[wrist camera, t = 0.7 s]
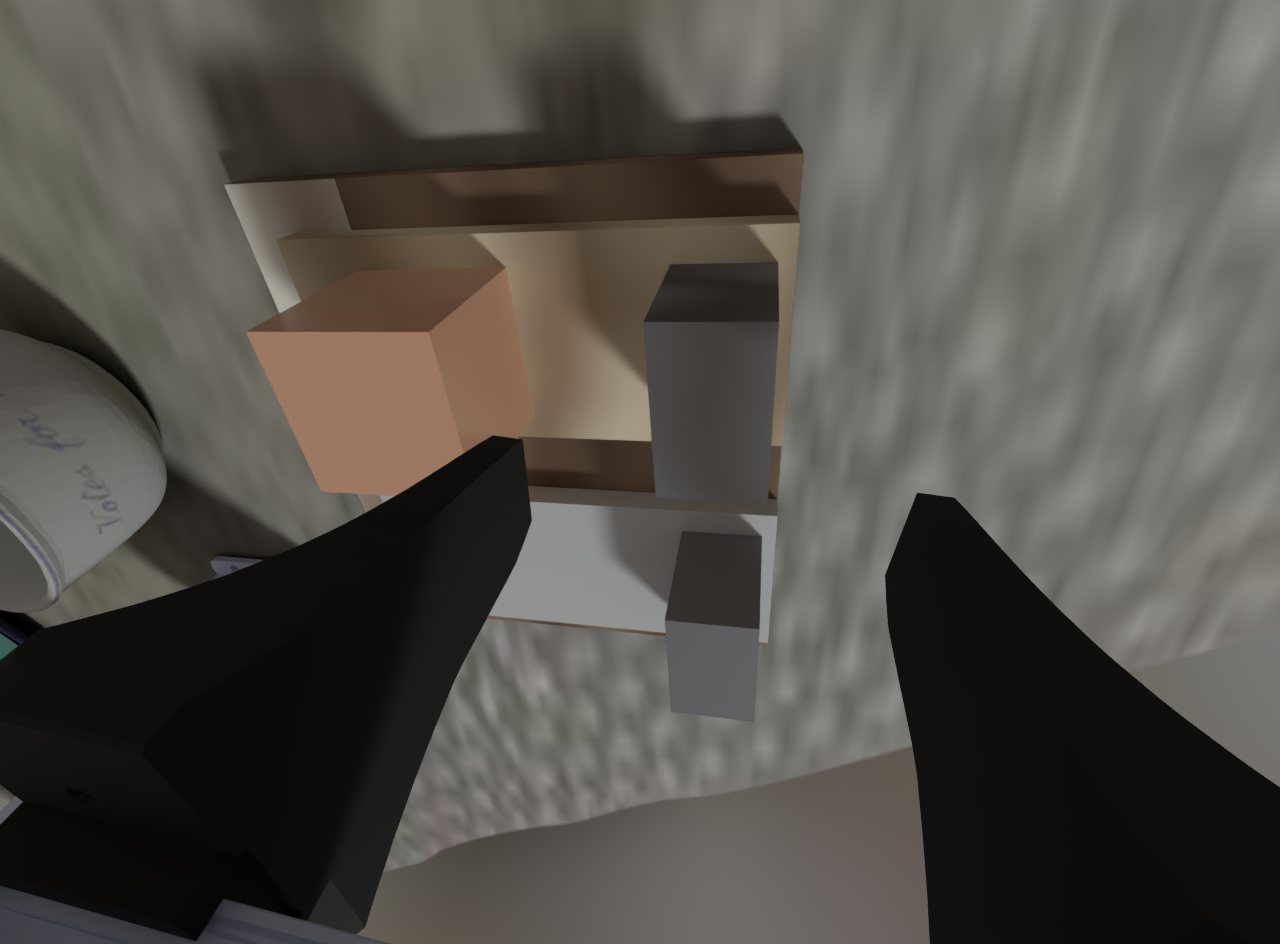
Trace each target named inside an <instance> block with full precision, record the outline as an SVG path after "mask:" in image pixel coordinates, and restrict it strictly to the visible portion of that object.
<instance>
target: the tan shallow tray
mask: <svg viewBox="0 0 1280 944" xmlns="http://www.w3.org/2000/svg"><path fill="white" fill-rule="evenodd" d="M799 231H800V219H799V214H797V215H768V216H740V217H711V218H682V219H654V220H625V221H597V222H568V223H540V224H511V225H483V226H454V227H426V228H397V229H369V230H340V231H312V232H295V233H293V234H290V235H288V236H285V237H283V238H280V239H278V240H276V241H277V243H278V246H279V248H280V251H281V253H282V255H283V258H284V260H285V263H286V265H287V268H288V270H289V273H290V275H291V278H292V280H293V283H294V285H295V288H296V290H297V292H298V295H299V297H300V300H301V301H303V300H305V299H307V298H309V297H311V296H312V295H314V294H316V293H318V292H320V291H322V290H323V289H325V288H327V287H329V286H331V285H333V284H334V283H336V282H338V281H340V280H342V279H344V278H345V277H347V276H349V275H351V274H353V273H355V272H356V271H367V270H416V269H465V268H506V271H507V276H508V281H509V286H510V291H511V296H512V301H513V306H514V311H515V316H516V321H517V326H518V331H519V336H520V341H521V346H522V351H523V356H524V361H525V366H526V372H527V377H528V382H529V387H530V392H531V397H532V402H533V407H534V412H535V413H534V415H533V416H532V418H531V419H530V421H529V422H528V424H527V426H526V427H525V429H524V430H523V432H522V433H521V435H520V437H547V438H574V439H601V440H628V441H652V452H653V466H654V480H655V494H656V498H675V499H693V500H711V501H729V502H747V503H766V504H768V490H769V474H770V458H771V446H783V438H784V425H785V412H786V399H787V387H788V374H789V361H790V348H791V335H792V322H793V309H794V296H795V283H796V270H797V257H798V244H799Z"/></svg>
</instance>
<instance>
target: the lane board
mask: <svg viewBox="0 0 1280 944" xmlns="http://www.w3.org/2000/svg"><path fill="white" fill-rule="evenodd" d="M802 165H803V150H802V148H795V149H777V150H759V151H741V152H723V153H705V154H687V155H669V156H651V157H633V158H615V159H597V160H579V161H561V162H543V163H525V164H507V165H489V166H471V167H453V168H435V169H417V170H399V171H381V172H363V173H345V174H327V175H309V176H291V177H273V178H255V179H244V180H241V181H237V182H233V183H229V184H225V185H224V186H225V188H226V190H227V193H228V195H229V197H230V200H231V202H232V204H233V207H234V209H235V211H236V213H237V216H238V218H239V220H240V223H241V225H242V227H243V230H244V232H245V234H246V237H247V239H248V241H249V244H250V246H251V248H252V250H253V253H254V255H255V257H256V260H257V262H258V264H259V267H260V269H261V271H262V274H263V276H264V278H265V281H266V283H267V285H268V287H269V290H270V292H271V294H272V297H273V299H274V301H275V304H276V306H277V308H278V311H279V313H281V312H283V311H285V310H287V309H289V308H290V307H292V306H294V305H296V304H298V303H300V302H301V300H300V297H299V295H298V292H297V290H296V288H295V285H294V283H293V280H292V278H291V275H290V273H289V270H288V268H287V265H286V263H285V260H284V258H283V255H282V253H281V251H280V248H279V246H278V243H277V241H276V240H278V239H280V238H283V237H285V236H288V235H290V234H293V233H295V232H312V231H340V230H369V229H397V228H426V227H454V226H483V225H511V224H540V223H568V222H597V221H625V220H654V219H682V218H711V217H740V216H768V215H797V214H799V205H800V192H801V179H802ZM518 439H523V445H524V454H525V463H526V471H527V480H528V486H538V487H557V488H575V489H594V490H613V491H632V492H650V493H655V480H654V466H653V452H652V441H628V440H601V439H574V438H547V437H520V436H519V438H518ZM780 458H781V446H771V458H770V474H769V490H768V499H777V497H778V484H779V471H780ZM358 496H359V498H360V500H361V503H362V505H363V507H364V510H365V512H368V511H369V510H371V509H373V508H375V507H376V506H378V505H380V504H382V503H383V502H382V499H381V497H380V495H371V494H358ZM487 618H490V619H500V620H510V621H520V622H530V623H540V624H550V625H561V626H571V627H581V628H591V629H601V630H611V631H621V632H631V633H641V634H651V635H661V636H666V633H661V632H651V631H641V630H630V629H620V628H610V627H600V626H590V625H580V624H569V623H559V622H549V621H539V620H529V619H519V618H509V617H498V616H488V617H487ZM766 644H767V643H762V642H759V645H762V646H766Z"/></svg>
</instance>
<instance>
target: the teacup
mask: <svg viewBox="0 0 1280 944" xmlns="http://www.w3.org/2000/svg"><path fill="white" fill-rule="evenodd" d="M166 483H167V471H166V465H165V461H164V457H163V445H162V441H161V437H160V434H159V431H158V429H157V427H156V425H155V422H154V421H153V419H152V418H151V416H150V415H149V413H148V412H147V410H146V409H145V408H144V406H143V405H142V404H141V403H140V401H139V400H138V399H137V398H136V397H135V396H134V395H133V394H132V393H131V392H130V391H129V390H128V389H127V388H126V387H125V386H124V385H123V384H122V383H121V382H120V381H118V380H117V379H116V378H115V377H113V376H112V375H111V374H110V373H108V372H107V371H106V370H104V369H103V368H101V367H100V366H99V365H97V364H95V363H94V362H92V361H91V360H89V359H87V358H85V357H83V356H82V355H80V354H77V353H75V352H73V351H71V350H68V349H65V348H63V347H60V346H57V345H54V344H51V343H46V342H41V341H38V340H36V339H33V338H30V337H27V336H24V335H21V334H18V333H15V332H11V331H7V330H2V329H0V610H3V611H9V612H19V613H28V612H38V611H42V610H44V609H47V608H49V607H50V606H52V605H53V604H54V603H55V602H56V601H57V600H58V599H59V597H60V596H61V594H62V593H63V592H64V591H65V590H66V589H67V588H68V587H70V586H71V585H72V584H74V583H75V582H76V581H77V580H79V579H80V578H81V577H82V576H84V575H85V574H86V573H88V572H89V571H90V570H91V569H92V568H94V567H95V566H96V565H97V564H99V563H100V562H101V561H102V560H104V559H105V558H106V557H107V556H109V555H110V554H111V553H112V552H113V551H115V550H116V549H117V548H118V547H119V546H120V545H122V544H123V543H124V542H125V541H126V540H127V539H128V538H130V537H131V536H132V535H133V534H134V533H135V532H136V531H137V530H138V529H140V528H141V527H142V526H143V525H144V524H145V523H146V522H147V520H148V519H149V518H150V517H151V516H152V515H153V514H154V512H155V511H156V509H157V508H158V506H159V505H160V503H161V501H162V499H163V497H164V493H165V490H166Z"/></svg>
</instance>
